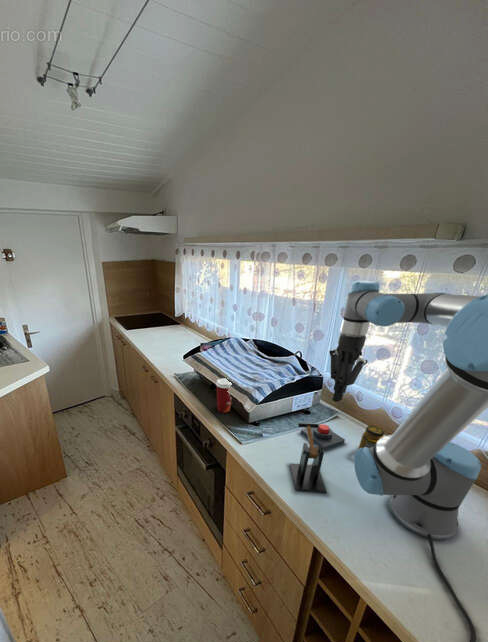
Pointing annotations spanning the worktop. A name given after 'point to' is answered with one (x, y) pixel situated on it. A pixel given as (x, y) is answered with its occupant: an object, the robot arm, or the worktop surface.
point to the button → (323, 429)
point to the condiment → (371, 436)
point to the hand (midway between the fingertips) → (337, 400)
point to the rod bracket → (308, 472)
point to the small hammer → (310, 438)
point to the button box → (324, 438)
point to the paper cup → (223, 395)
